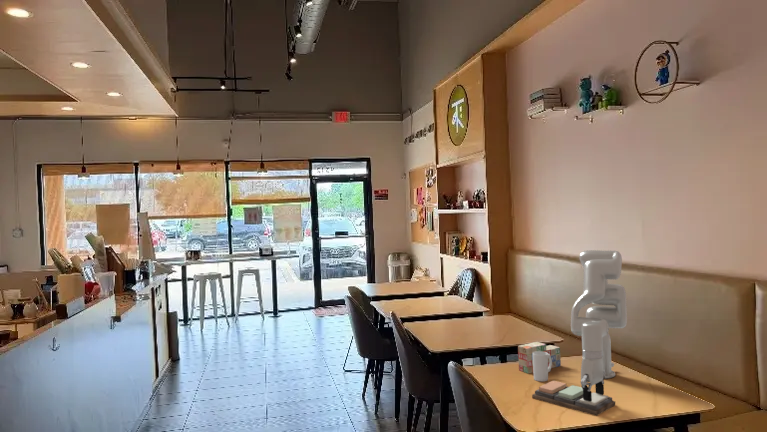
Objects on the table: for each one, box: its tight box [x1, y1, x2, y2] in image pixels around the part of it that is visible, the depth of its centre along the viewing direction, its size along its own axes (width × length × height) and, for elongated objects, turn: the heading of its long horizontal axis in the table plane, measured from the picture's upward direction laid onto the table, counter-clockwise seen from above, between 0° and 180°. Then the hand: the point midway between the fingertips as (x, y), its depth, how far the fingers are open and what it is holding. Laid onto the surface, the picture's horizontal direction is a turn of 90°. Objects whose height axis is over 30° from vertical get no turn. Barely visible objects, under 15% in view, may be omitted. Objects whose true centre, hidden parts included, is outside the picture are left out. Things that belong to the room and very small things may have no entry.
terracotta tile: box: [538, 380, 567, 394], centre depth 230 cm, size 11×6×2 cm, turn 132°
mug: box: [532, 351, 552, 382], centre depth 253 cm, size 10×7×12 cm, turn 116°
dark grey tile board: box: [531, 385, 616, 417], centre depth 224 cm, size 15×28×3 cm, turn 42°
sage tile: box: [559, 385, 583, 400], centre depth 223 cm, size 11×6×2 cm, turn 132°
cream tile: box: [580, 392, 609, 406], centre depth 217 cm, size 11×6×2 cm, turn 132°
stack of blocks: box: [517, 341, 562, 374], centre depth 268 cm, size 21×6×12 cm, turn 117°
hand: (593, 397), depth 217 cm, fingers open, 9 cm apart
